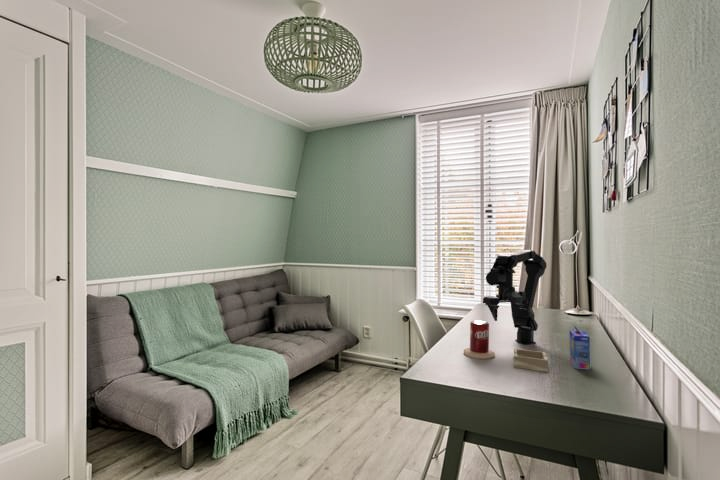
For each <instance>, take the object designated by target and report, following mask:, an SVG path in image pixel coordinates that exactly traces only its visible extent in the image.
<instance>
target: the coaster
mask: <svg viewBox="0 0 720 480" xmlns="http://www.w3.org/2000/svg"><path fill="white" fill-rule="evenodd" d="M463 355H465V356H466V357H468V358H471V359H477V360H489V359H490V360H491V359H494V358H495V357H496V352H495V351H493V350H490V349H489V352H488V353H487V354H475V353H472V352H471V351H470V347H468V348H465V349H463Z"/></svg>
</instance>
